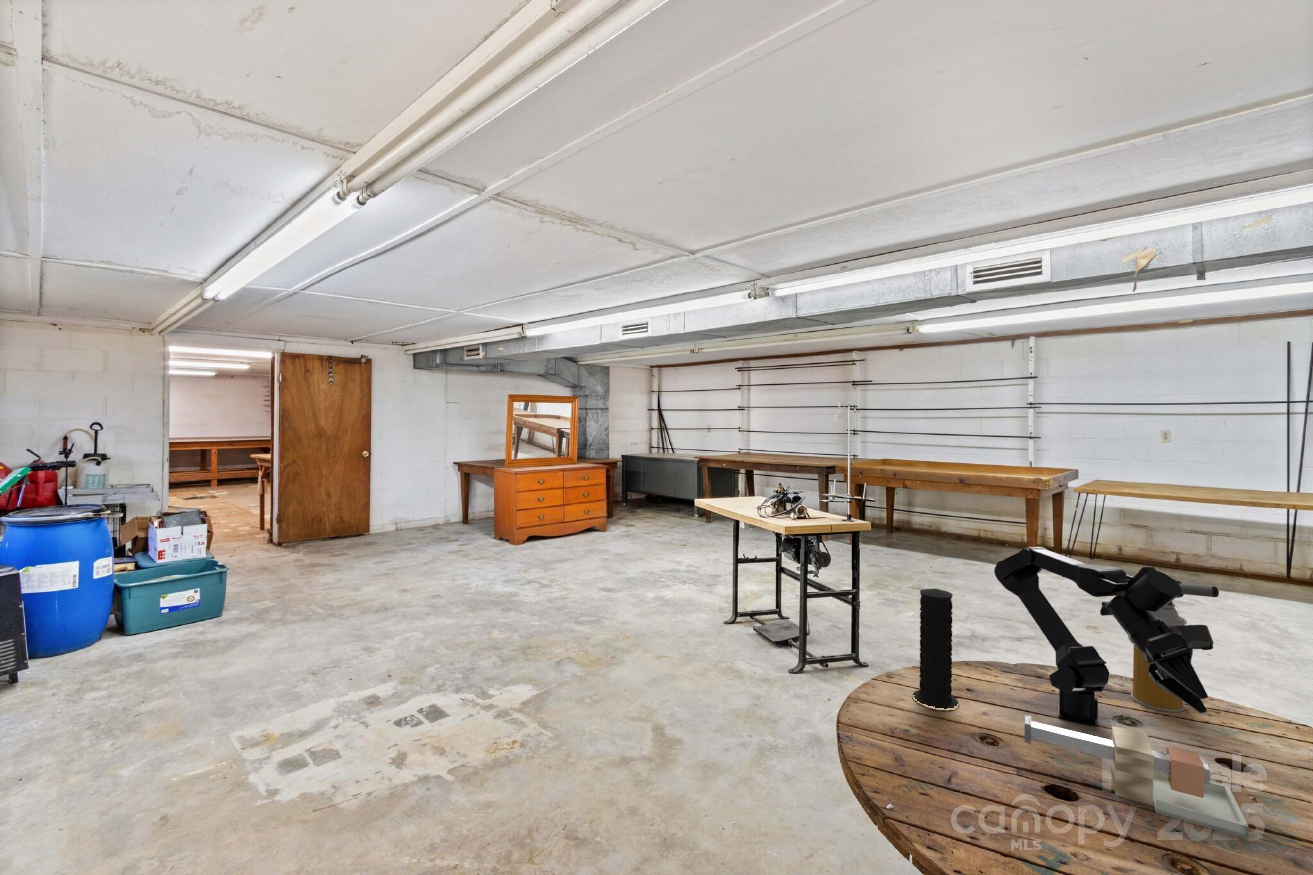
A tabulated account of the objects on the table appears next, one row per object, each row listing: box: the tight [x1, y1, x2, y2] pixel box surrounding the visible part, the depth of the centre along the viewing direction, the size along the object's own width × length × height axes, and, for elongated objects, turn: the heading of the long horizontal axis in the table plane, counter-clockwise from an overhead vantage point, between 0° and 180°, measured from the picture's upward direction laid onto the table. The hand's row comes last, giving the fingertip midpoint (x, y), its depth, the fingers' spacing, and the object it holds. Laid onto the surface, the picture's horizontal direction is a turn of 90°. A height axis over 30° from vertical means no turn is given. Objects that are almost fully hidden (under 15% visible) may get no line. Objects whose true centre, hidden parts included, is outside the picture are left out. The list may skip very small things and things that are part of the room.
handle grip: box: [912, 588, 959, 709], centre depth 134 cm, size 10×26×10 cm
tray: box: [1153, 771, 1249, 840], centre depth 98 cm, size 11×12×2 cm
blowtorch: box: [1130, 580, 1220, 713], centre depth 130 cm, size 9×16×30 cm, turn 15°
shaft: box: [1023, 714, 1211, 785], centre depth 104 cm, size 26×4×4 cm, turn 56°
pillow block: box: [1110, 725, 1154, 807], centre depth 102 cm, size 5×8×9 cm, turn 146°
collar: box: [1166, 744, 1204, 798], centre depth 98 cm, size 4×5×5 cm
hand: (1204, 705), depth 101 cm, fingers open, 9 cm apart
